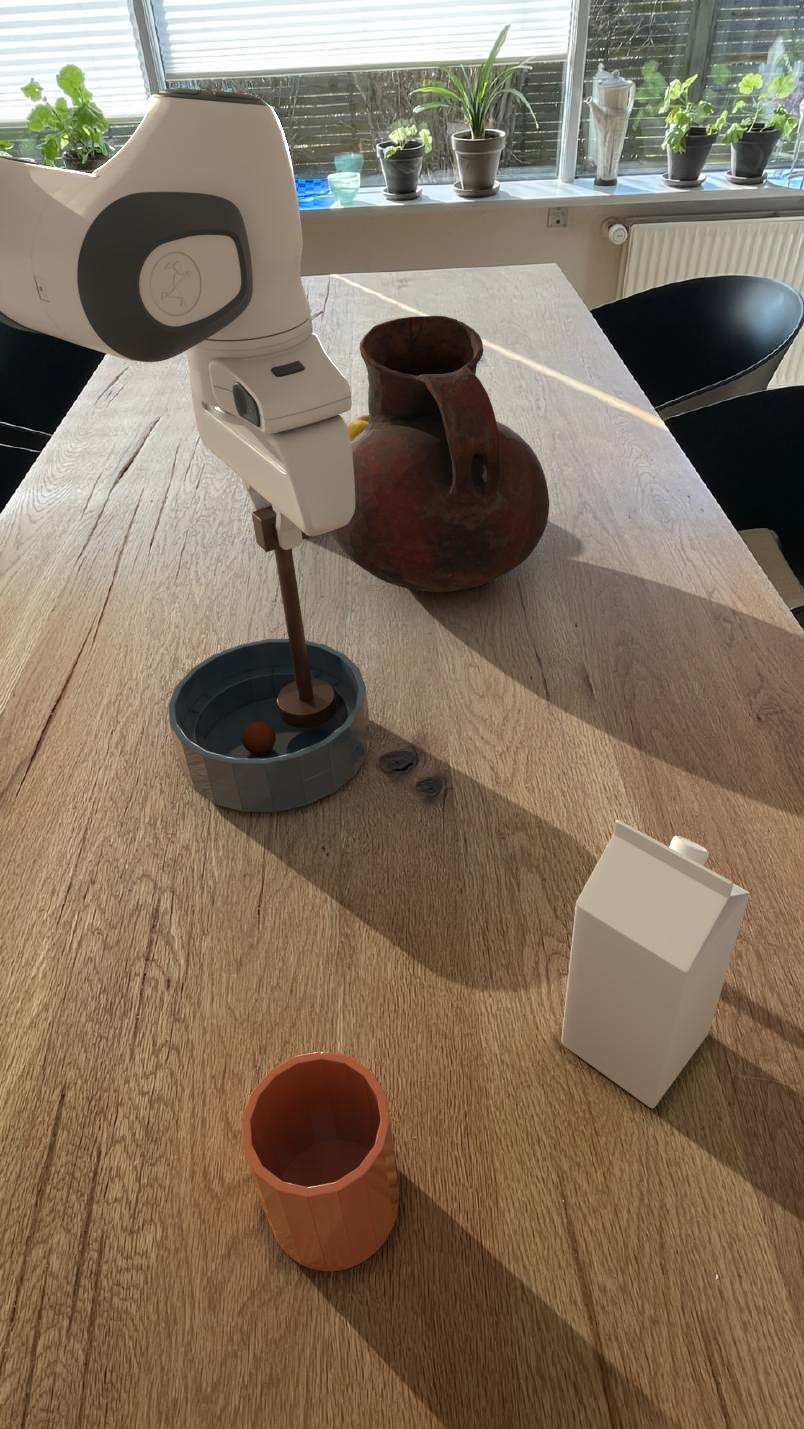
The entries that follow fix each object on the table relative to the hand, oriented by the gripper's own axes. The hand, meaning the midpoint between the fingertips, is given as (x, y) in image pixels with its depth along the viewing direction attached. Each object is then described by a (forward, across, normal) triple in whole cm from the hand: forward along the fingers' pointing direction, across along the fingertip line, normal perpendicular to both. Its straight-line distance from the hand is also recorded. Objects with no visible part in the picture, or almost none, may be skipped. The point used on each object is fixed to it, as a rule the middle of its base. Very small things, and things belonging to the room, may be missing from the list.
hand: (279, 536), depth 75 cm
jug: (+21, -18, +26) cm, 39 cm away
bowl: (+21, 0, -4) cm, 21 cm away
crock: (+21, +38, -18) cm, 47 cm away
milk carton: (+21, +40, +4) cm, 45 cm away
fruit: (+22, -42, +32) cm, 57 cm away
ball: (+19, 0, -5) cm, 20 cm away
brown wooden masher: (+18, 0, 0) cm, 18 cm away
